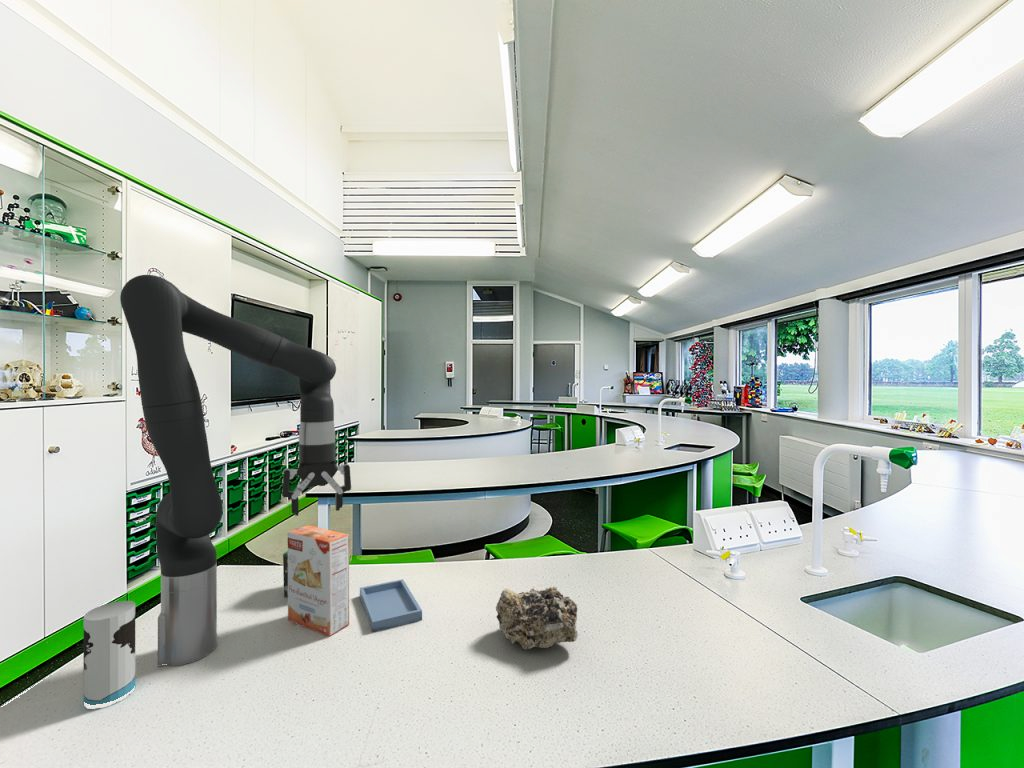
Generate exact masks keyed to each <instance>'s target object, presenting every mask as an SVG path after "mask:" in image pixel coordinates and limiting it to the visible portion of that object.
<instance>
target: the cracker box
mask: <svg viewBox="0 0 1024 768" xmlns="http://www.w3.org/2000/svg"><path fill="white" fill-rule="evenodd" d="M287 551H288V597H287V621H289V622H291V623H294V624H296V625H300V626H302V627H304V628H306V629H310V630H312V631H314V632H317V633H320V634H322V635H324V636H327V637H331V636H333V635H334V634H336V633H338V632H339V631H341V630H342V629H344V628H346V627H347V626H348V625H350V534H348V533H343V532H340V531H334V530H330V529H327V528H322V527H318V526H314V525H304V526H301V527H298V528H295V529H292V530H289V531H287Z"/></svg>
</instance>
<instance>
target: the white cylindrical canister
mask: <svg viewBox="0 0 1024 768" xmlns="http://www.w3.org/2000/svg"><path fill="white" fill-rule="evenodd" d="M134 686H135V687H136V603H135V601H132V600H119V601H113V602H110V603H107V604H103V605H100V606H97V607H95V608H93V609H91V610H89V611H88V612H86V613H85V614H84V615H83V703H84V702H85V703H87V704H90V705H96V704H103V703H107V702H110V701H114V700H116V699H118V698H120V697H122V696H124V695H125V694H127V693H128V692H130V691H131V690H132V689H133V688H134Z"/></svg>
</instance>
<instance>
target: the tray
mask: <svg viewBox="0 0 1024 768" xmlns="http://www.w3.org/2000/svg"><path fill="white" fill-rule="evenodd" d="M359 598H360V601H361V604H362V606H363V609H364V612H365V615H366V619H367V621H368V624H369V626H370V629H371V632H372V633H375V632H378V631H383V630H388V629H390V628H392V629H393V628H395V627H400V626H403V625H407V624H412V623H415V622H419V621H420V622H421V621H423V610H422V608H421V607H420V605H419V603H418V601H417V600H416V598H415V597H414V595H413V593H412V592H411V590H410V588H409V586H408V585H407V583H406V582H405V580H404V579H403V578H402V579H398V580H392V581H386V582H382V583H376V584H373V585H367V586H362V587H359Z"/></svg>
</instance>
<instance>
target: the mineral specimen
mask: <svg viewBox="0 0 1024 768" xmlns="http://www.w3.org/2000/svg"><path fill="white" fill-rule="evenodd" d="M495 611H496V612H497V615H496V619H497V621H498V625H499V630H501V633H504V635H505V638H506V639H507V640H509V641H510V643H512V644H514V643H515V642H517V643H519V644H520V645H521V647H522V649H524V650H531V649H533V648H534V647H536V648H541V649H542V648H550V647H552V646H553V645H554V644H555V643H557V644H560V643H574V642H576V641H577V639H578V636H579V635H578V634H579V633H578V630H577V620H578V614H577V613H578V605H577V603H575V601H574V600H572V599H571V598H570V597H569V596H564V595H563V594H562V593H561V592H560V591H559V590H558V589H557V587H556V586H549V587H547V588H545V589H544V590H543V589H542V590H537V589H536V590H535V588H531V589H530V590H529V591H526V592H525V591H522V592H520V593H516V592H514V591H512V590H510V589H508V588H504V589H503V590H502V591H501V593H500V597H499V599H498V602H497V603H496V606H495Z"/></svg>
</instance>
